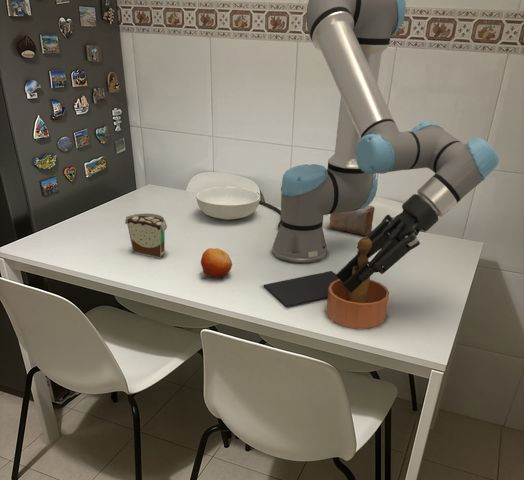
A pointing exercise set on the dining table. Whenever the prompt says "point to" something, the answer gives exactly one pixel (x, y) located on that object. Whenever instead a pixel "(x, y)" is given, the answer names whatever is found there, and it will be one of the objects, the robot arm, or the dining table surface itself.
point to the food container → (147, 234)
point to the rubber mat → (302, 289)
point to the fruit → (215, 263)
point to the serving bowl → (228, 202)
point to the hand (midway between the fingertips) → (343, 283)
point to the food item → (353, 221)
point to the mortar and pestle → (361, 291)
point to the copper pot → (357, 306)
